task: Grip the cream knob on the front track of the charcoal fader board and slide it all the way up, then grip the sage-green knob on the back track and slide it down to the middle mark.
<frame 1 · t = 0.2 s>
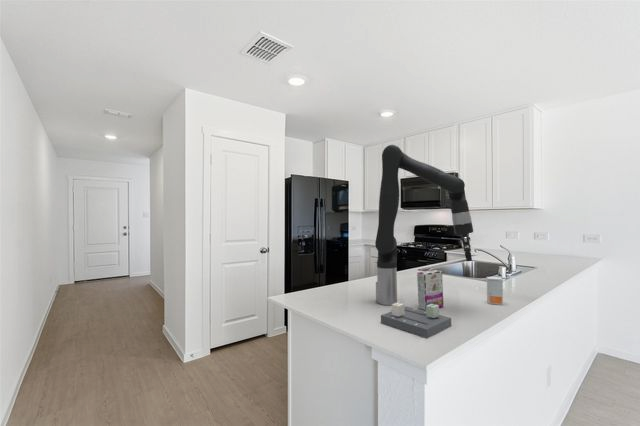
hand: (468, 259, 132), 22 cm above the worktop, tool pointing down, fingers open, 8 cm apart
fader board: (415, 324, 116), on the worktop
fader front: (398, 309, 118), point 6 cm above the worktop, slide at -5.0 cm
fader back: (432, 310, 115), point 6 cm above the worktop, slide at 5.0 cm
skincare box: (495, 303, 141), on the worktop
candy bar box: (430, 308, 136), on the worktop
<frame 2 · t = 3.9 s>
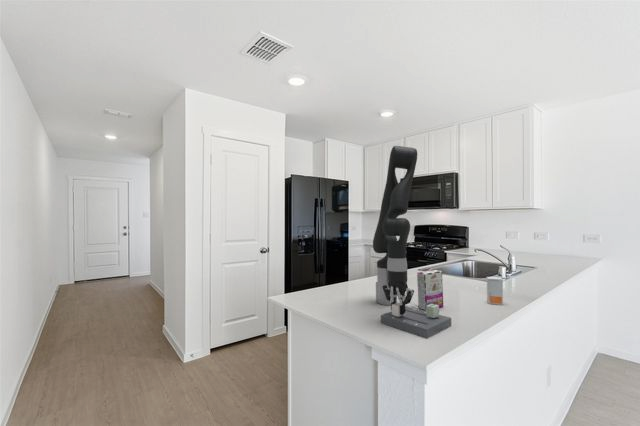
hand: (398, 312, 118), 4 cm above the worktop, tool pointing down, fingers closed on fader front, 3 cm apart
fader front: (398, 309, 118), point 6 cm above the worktop, slide at -4.9 cm, touching gripper
everything else where it was.
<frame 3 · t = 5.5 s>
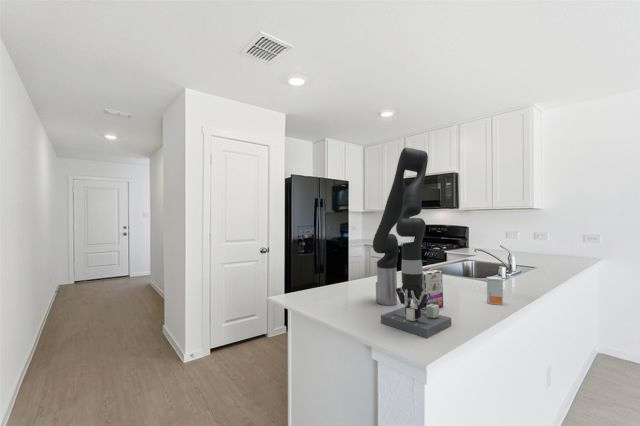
hand: (412, 317, 113), 4 cm above the worktop, tool pointing down, fingers closed on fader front, 3 cm apart
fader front: (412, 313, 113), point 6 cm above the worktop, slide at 1.6 cm, touching gripper
everything else where it was.
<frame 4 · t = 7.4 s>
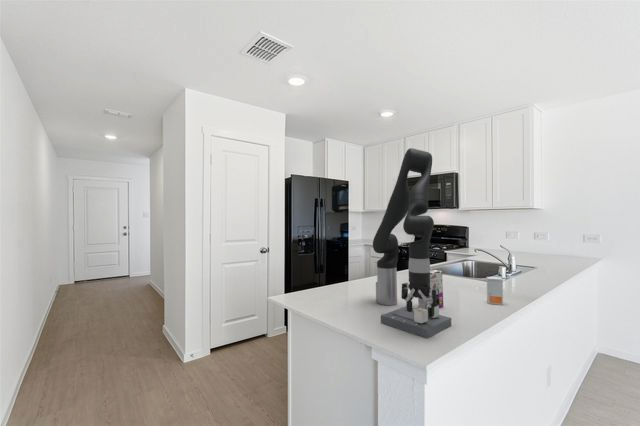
hand: (420, 314, 110), 6 cm above the worktop, tool pointing down, fingers open, 8 cm apart
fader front: (420, 315, 110), point 6 cm above the worktop, slide at 5.0 cm
everything else where it was.
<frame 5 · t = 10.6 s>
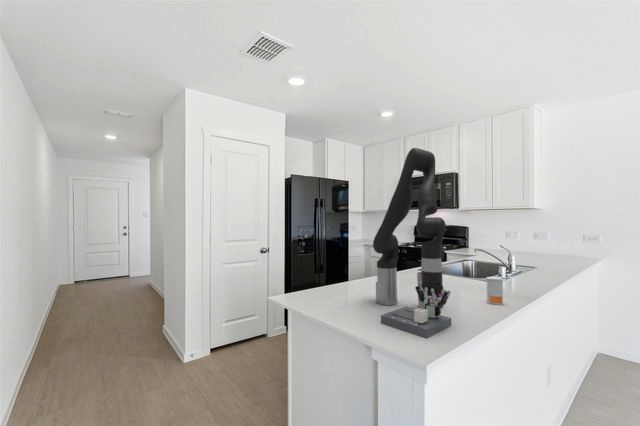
hand: (432, 314, 115), 4 cm above the worktop, tool pointing down, fingers closed on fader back, 3 cm apart
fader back: (432, 310, 115), point 6 cm above the worktop, slide at 5.1 cm, touching gripper
everything else where it was.
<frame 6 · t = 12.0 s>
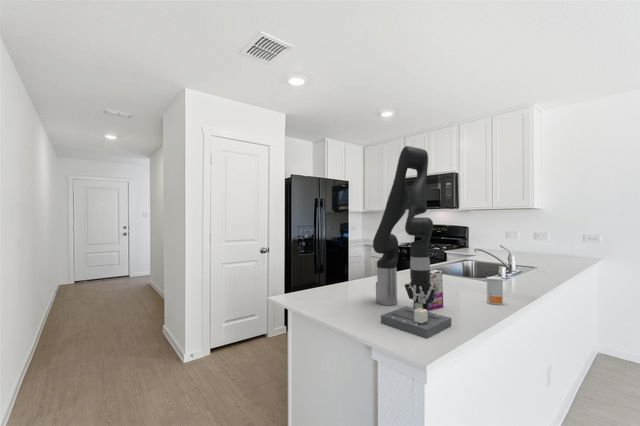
hand: (421, 311, 119), 4 cm above the worktop, tool pointing down, fingers closed on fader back, 3 cm apart
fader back: (421, 307, 119), point 6 cm above the worktop, slide at 0.1 cm, touching gripper
everything else where it was.
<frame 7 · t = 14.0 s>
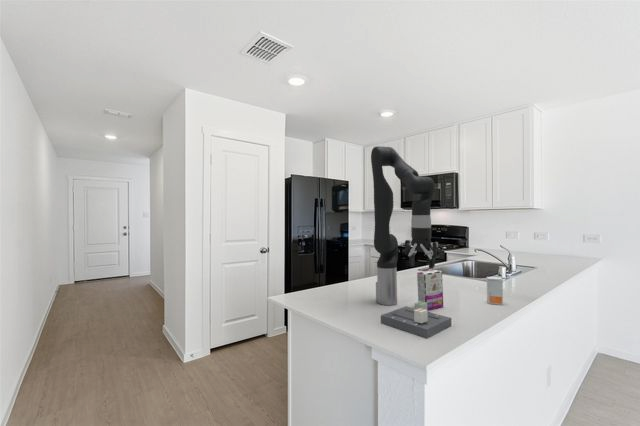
hand: (421, 267, 120), 21 cm above the worktop, tool pointing down, fingers open, 8 cm apart
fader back: (421, 307, 119), point 6 cm above the worktop, slide at 0.1 cm
everything else where it was.
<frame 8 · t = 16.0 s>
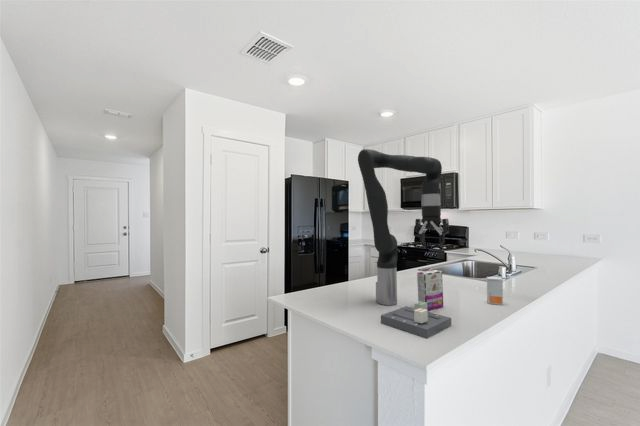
hand: (431, 243, 127), 30 cm above the worktop, tool pointing down, fingers open, 8 cm apart
nothing on the worktop moved.
at the end: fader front slide at 5.0 cm; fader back slide at 0.1 cm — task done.
